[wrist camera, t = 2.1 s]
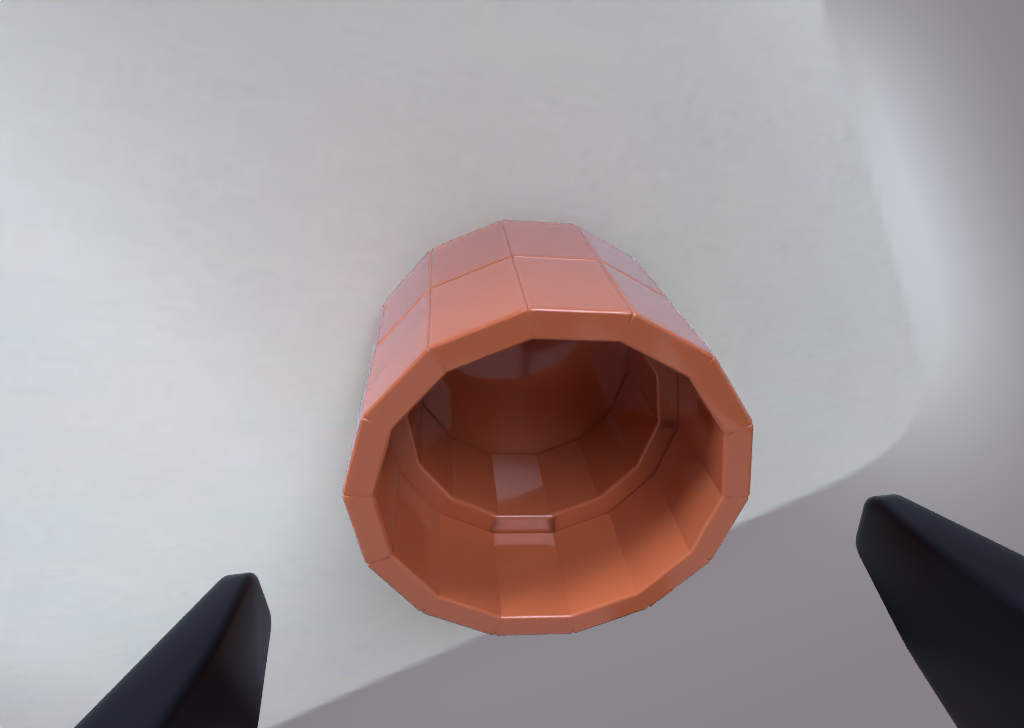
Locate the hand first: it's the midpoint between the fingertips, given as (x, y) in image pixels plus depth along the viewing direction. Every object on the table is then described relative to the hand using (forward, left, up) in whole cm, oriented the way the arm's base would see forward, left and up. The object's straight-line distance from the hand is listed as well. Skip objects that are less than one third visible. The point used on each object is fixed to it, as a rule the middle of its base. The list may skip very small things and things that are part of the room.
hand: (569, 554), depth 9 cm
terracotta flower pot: (0, 0, -6) cm, 6 cm away
